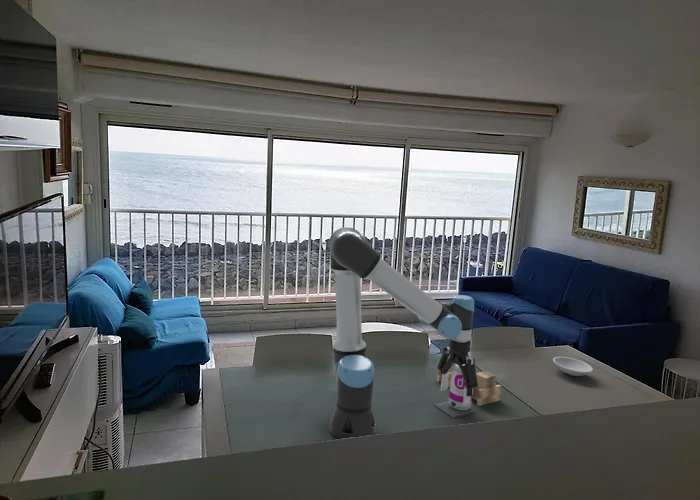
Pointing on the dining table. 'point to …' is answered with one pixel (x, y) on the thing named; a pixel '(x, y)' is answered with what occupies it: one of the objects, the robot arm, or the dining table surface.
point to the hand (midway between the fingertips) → (454, 396)
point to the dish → (572, 366)
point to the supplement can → (457, 390)
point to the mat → (452, 410)
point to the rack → (481, 387)
